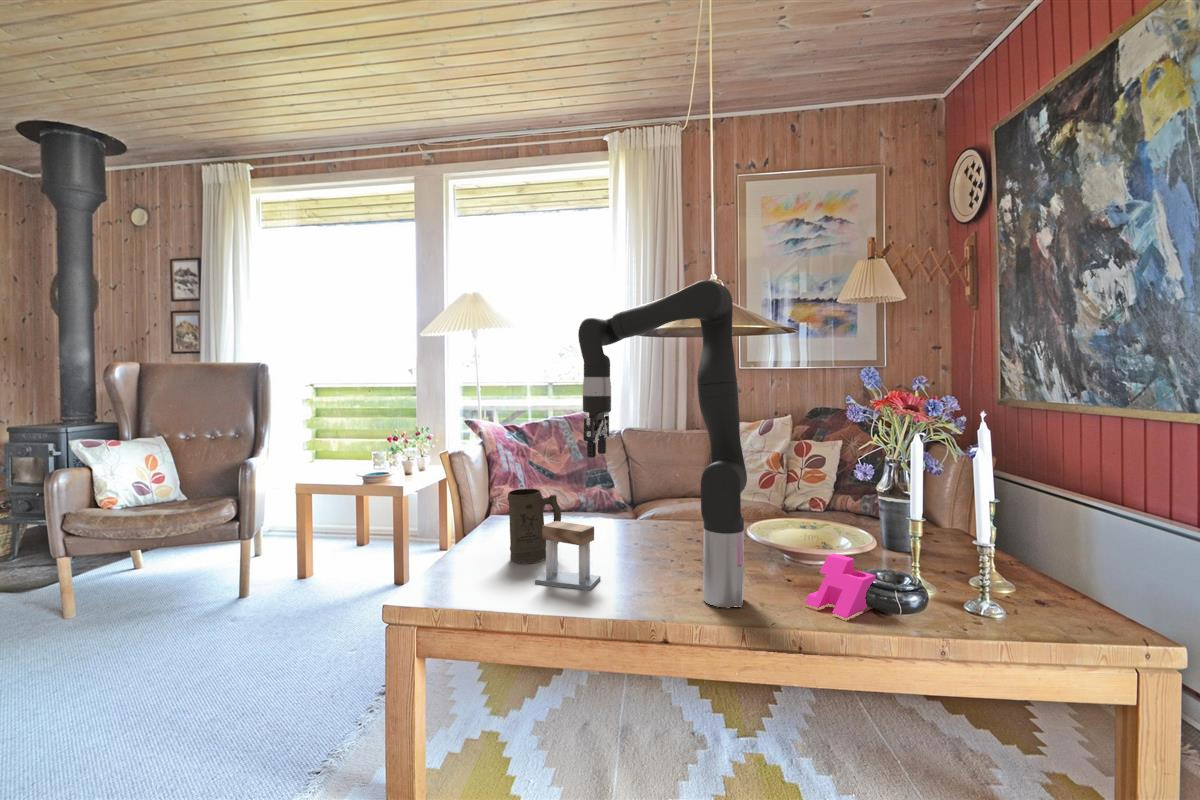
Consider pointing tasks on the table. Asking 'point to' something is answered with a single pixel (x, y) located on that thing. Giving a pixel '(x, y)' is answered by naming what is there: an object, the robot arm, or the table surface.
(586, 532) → the brown wooden block
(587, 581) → the peg stand
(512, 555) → the beer stein
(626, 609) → the table surface
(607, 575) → the table surface
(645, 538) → the table surface
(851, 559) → the pink dog planter
